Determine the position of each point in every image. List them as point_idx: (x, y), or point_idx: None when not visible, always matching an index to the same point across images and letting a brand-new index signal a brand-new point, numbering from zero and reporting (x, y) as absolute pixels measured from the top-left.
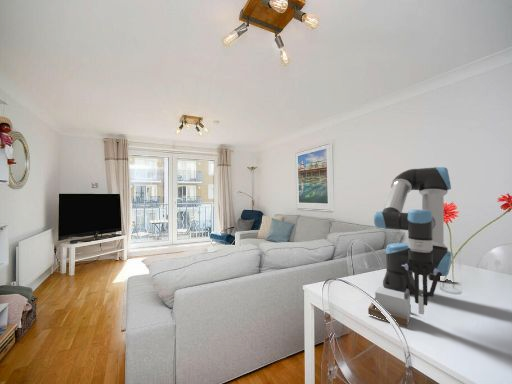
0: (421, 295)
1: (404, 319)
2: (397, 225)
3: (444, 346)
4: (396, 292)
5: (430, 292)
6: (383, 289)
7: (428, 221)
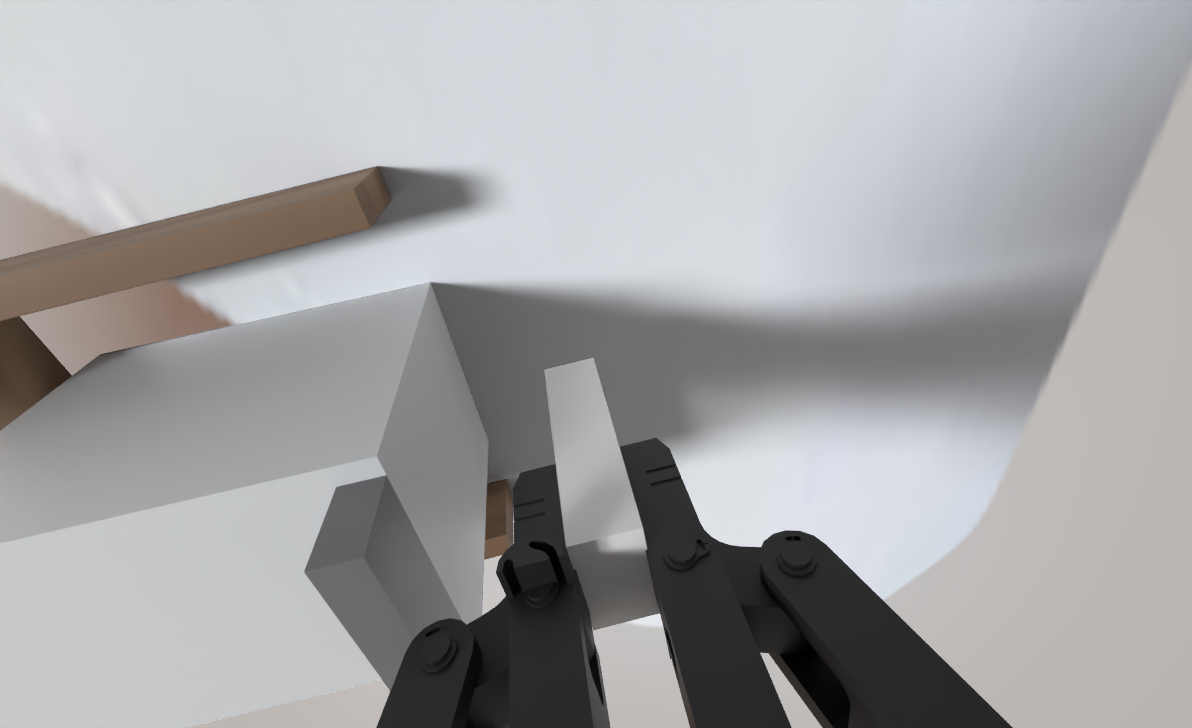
0: (624, 585)
1: (495, 550)
2: None
3: (751, 510)
4: (204, 570)
5: (808, 686)
6: None
7: None
